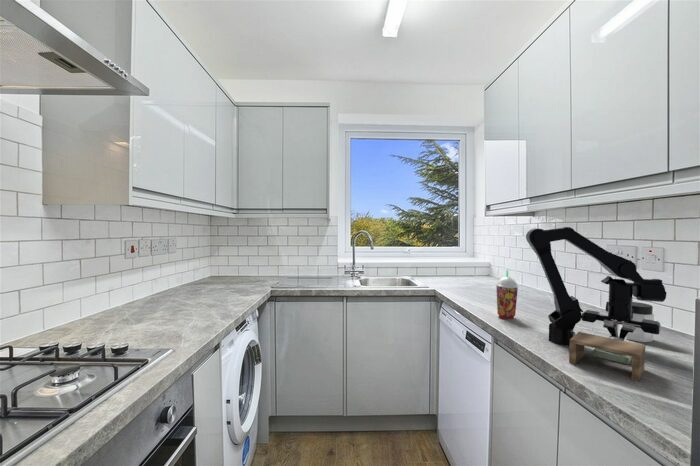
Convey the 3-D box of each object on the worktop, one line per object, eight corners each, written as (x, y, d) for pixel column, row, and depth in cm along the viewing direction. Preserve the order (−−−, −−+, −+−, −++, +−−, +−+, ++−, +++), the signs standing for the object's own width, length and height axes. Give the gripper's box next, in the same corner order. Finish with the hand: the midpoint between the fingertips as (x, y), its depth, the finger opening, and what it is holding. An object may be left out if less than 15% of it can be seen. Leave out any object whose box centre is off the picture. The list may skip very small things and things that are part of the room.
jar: (653, 338, 118) (654, 304, 117) (652, 344, 112) (654, 308, 111) (620, 332, 124) (621, 300, 123) (618, 338, 118) (619, 303, 117)
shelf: (568, 365, 94) (569, 339, 94) (578, 355, 101) (579, 331, 101) (639, 384, 83) (640, 355, 83) (644, 372, 90) (645, 345, 90)
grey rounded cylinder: (607, 352, 102) (607, 337, 102) (609, 349, 104) (609, 335, 104) (621, 355, 99) (622, 340, 99) (623, 352, 102) (623, 338, 102)
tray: (593, 358, 99) (593, 349, 99) (601, 348, 108) (602, 340, 107) (628, 367, 93) (628, 357, 93) (634, 355, 102) (634, 347, 102)
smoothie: (492, 314, 147) (494, 268, 146) (513, 315, 145) (514, 269, 145) (498, 319, 138) (499, 271, 138) (520, 320, 137) (521, 272, 137)
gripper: (662, 300, 104) (660, 350, 104) (589, 290, 117) (588, 335, 118) (659, 306, 96) (657, 360, 97) (582, 295, 110) (580, 342, 110)
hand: (618, 348), depth 106 cm, fingers closed
